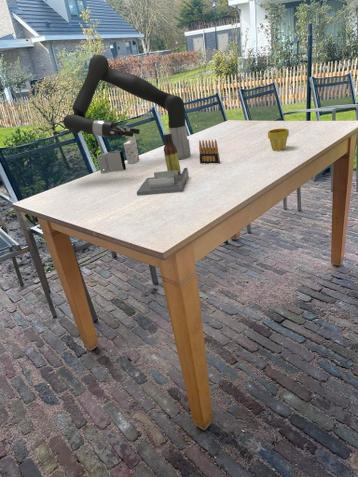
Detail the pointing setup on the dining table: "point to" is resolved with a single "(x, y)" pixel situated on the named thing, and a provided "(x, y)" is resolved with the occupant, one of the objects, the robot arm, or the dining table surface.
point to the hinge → (111, 161)
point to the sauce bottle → (171, 154)
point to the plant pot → (278, 138)
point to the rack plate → (164, 182)
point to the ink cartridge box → (131, 150)
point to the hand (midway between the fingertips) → (136, 133)
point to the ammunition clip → (208, 152)
